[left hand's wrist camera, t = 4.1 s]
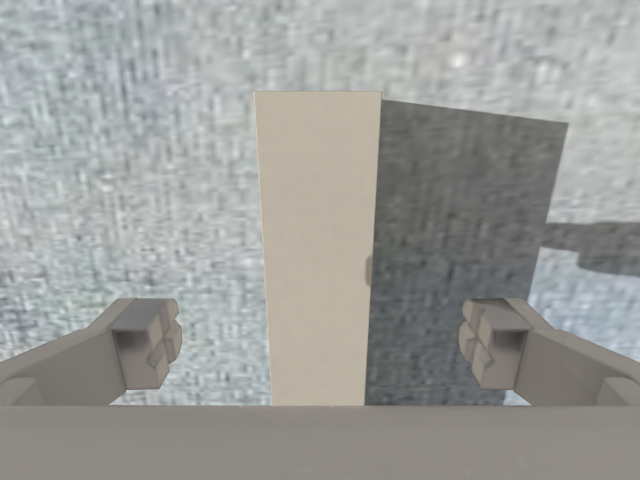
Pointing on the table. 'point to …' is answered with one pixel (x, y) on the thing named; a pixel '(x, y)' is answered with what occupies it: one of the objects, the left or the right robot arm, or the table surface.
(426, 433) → the left robot arm
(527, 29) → the table surface
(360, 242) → the beam
